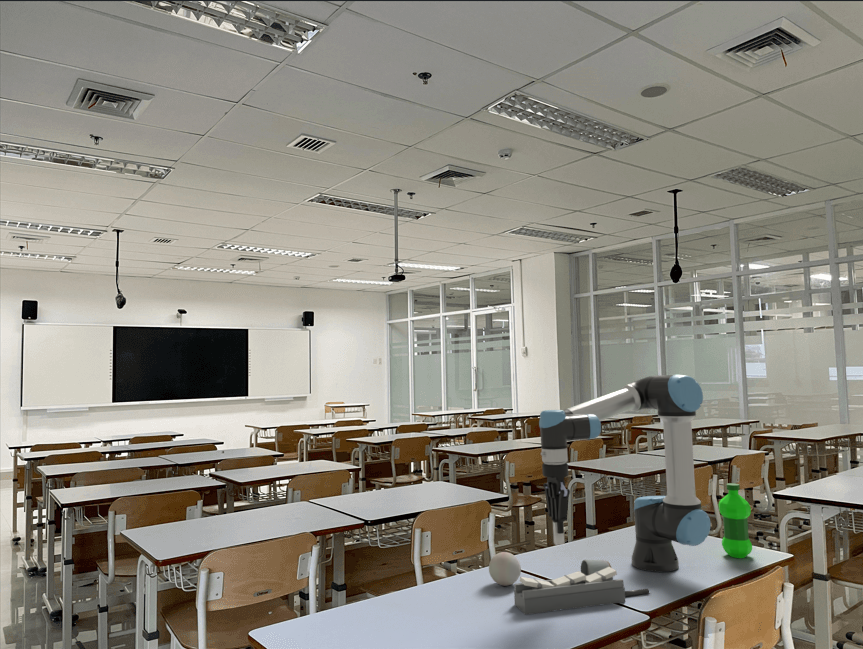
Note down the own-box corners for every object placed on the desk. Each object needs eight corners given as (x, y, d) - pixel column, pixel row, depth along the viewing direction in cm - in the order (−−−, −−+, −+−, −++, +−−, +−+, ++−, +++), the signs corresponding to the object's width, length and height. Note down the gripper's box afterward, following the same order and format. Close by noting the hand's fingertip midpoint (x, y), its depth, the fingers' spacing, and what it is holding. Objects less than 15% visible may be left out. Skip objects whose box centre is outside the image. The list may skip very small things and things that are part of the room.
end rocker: (547, 586, 184) (548, 581, 184) (553, 591, 179) (554, 586, 180) (519, 581, 182) (520, 576, 182) (525, 585, 177) (526, 580, 178)
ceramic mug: (614, 587, 195) (613, 561, 196) (590, 589, 194) (588, 563, 194) (600, 577, 205) (599, 552, 206) (576, 579, 204) (575, 554, 205)
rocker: (610, 570, 189) (608, 566, 189) (617, 575, 184) (616, 570, 184) (583, 581, 186) (582, 577, 186) (591, 586, 182) (589, 581, 182)
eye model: (491, 579, 206) (490, 547, 207) (522, 580, 204) (521, 548, 205) (487, 589, 196) (486, 556, 197) (520, 590, 194) (519, 557, 195)
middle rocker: (579, 575, 186) (578, 570, 186) (586, 579, 182) (585, 574, 182) (552, 584, 184) (551, 579, 184) (558, 589, 180) (557, 584, 180)
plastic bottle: (724, 550, 230) (720, 481, 232) (756, 554, 224) (751, 483, 226) (718, 557, 222) (713, 485, 224) (751, 561, 216) (746, 487, 218)
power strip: (640, 589, 193) (639, 568, 193) (655, 597, 185) (654, 576, 185) (514, 604, 183) (513, 583, 183) (525, 614, 175) (524, 592, 175)
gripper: (534, 460, 192) (538, 539, 191) (552, 466, 180) (557, 551, 178) (556, 458, 194) (561, 537, 192) (576, 464, 182) (581, 548, 180)
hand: (559, 543), depth 185 cm, fingers closed
